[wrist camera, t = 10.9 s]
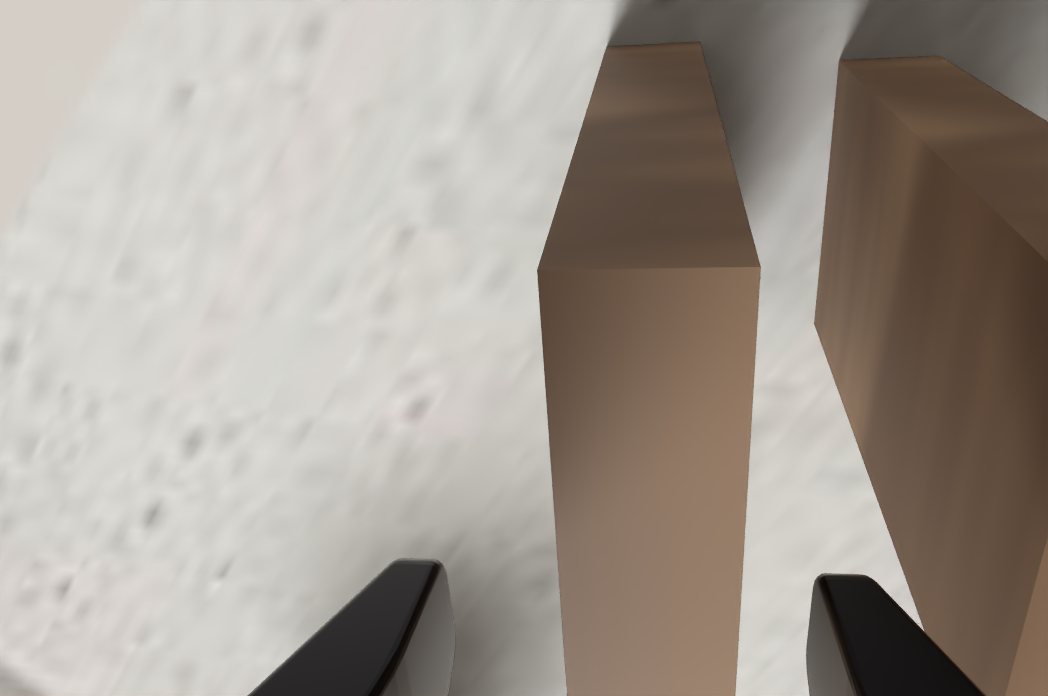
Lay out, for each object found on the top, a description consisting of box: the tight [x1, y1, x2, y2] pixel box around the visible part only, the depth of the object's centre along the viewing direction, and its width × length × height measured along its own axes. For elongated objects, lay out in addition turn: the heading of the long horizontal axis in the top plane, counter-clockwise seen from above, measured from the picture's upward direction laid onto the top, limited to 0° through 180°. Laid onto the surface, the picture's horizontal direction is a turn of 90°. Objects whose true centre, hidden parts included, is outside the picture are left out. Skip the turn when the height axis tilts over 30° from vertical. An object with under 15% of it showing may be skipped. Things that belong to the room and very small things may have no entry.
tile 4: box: [814, 56, 1048, 696], centre depth 11 cm, size 2×5×10 cm, turn 4°
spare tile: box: [537, 42, 761, 696], centre depth 12 cm, size 2×5×10 cm, turn 5°
